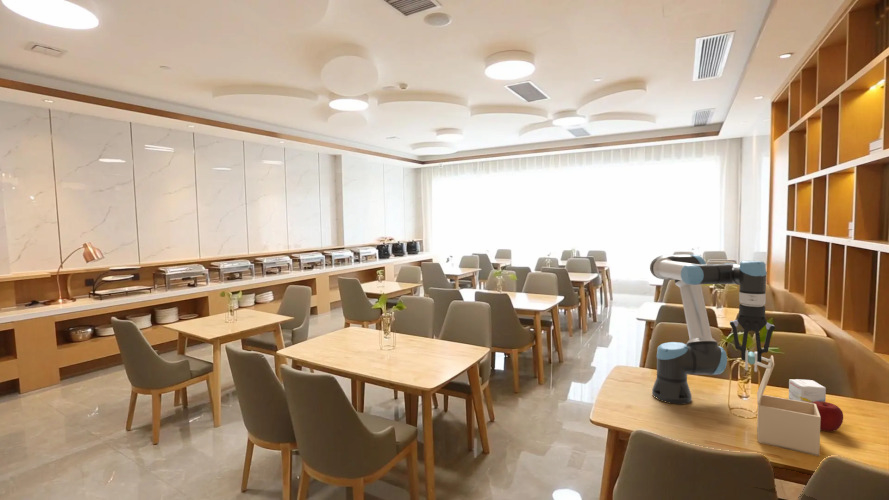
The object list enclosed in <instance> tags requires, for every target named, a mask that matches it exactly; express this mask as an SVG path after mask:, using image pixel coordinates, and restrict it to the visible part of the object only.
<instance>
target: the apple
mask: <svg viewBox="0 0 889 500" xmlns="http://www.w3.org/2000/svg"><path fill="white" fill-rule="evenodd" d="M812 403H814V404H816V406H817V408H818V411H819V414H820V417H821V420H820V431H823V432H835V431H837V430H838V429H840V427H841V425H843V422H844V413H843V410H842V409H841V408H840V407H839V406H837V404H834V403H830V402H827V401H825V402H823V401H815V402H812Z"/></svg>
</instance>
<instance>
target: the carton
mask: <svg viewBox="0 0 889 500" xmlns="http://www.w3.org/2000/svg"><path fill="white" fill-rule="evenodd" d="M820 420H821V417H820V414H819V411H818V408H817V406H816V404H814V403H808V402H802V401H796V400H791V399H789V398H783V397H778V396H771V395H767V394H763V396H762V398H761V401H760V403H759V405H758V404H757V420H756V421H757V423H756V424H757V426H756V427H757V428H756V429H757V443H758V444H759V443H760V444H763V445H768V446H772V447H776V448H781V449H786V450H790V451H794V452H798V451H799V452H798V453H802V452H803V453H802V454H807V455H811V456H812V455H813V456H816V457H820V447H821V444H820V443H821V442H820V441H821V430H820Z"/></svg>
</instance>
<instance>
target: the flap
mask: <svg viewBox="0 0 889 500" xmlns="http://www.w3.org/2000/svg"><path fill="white" fill-rule="evenodd" d="M761 361H764V362H767V363H768V364H765V363H762V362H757V361H755V352H753V351H748V364H749V365H754V364H756V365H757V366H759V367H762V368H765V371H764V374H763V376H762V379H761V381H760V385H759V387H758V389H757V392H756V399H757V406H758V405H759V403H760V401H761V398H762V396H763V395H764V393H765V390H766V388H767V385H768V383H769V379H770V377H771V375H772V372H773V370H774V367H775V361H774V355H770V357H769V358H766V357H763V356H761Z"/></svg>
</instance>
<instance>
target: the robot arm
mask: <svg viewBox="0 0 889 500" xmlns="http://www.w3.org/2000/svg"><path fill="white" fill-rule="evenodd" d="M766 265H767V264H766V262H764V261H762V260H742V261H741V262H740V263H735V262H733V263H730V262H728V263H727V262H726V263H721V264H720V263H718V264H717V263H716V264H715V263H714V264H707V263H706V261H705V259H704V257H702V256H700V255H699V254H698V255H697V254H689V253H687V254H663V255H659V256H657V257H655V258H654V259H653V260H651V262H650V264H649V270H650V273H651V274H652V276H653V277H655V278H656V279H659V280H668V281H669V280H671V281H674V285H675V286H677V287H678V288H679V290H680V296H681V300H682V306H683V307H682V308H683V312H684V317H685V323H686V328H687V332H688V336H689V340H688V341H687V342H686V343H684V342H679V341H678V342H676V341H670V342H669V341H668V342H664V343H663V342H662V343H661V344H660V345H658V346H657V349H656V351H657V352H656V379H655V382H654V384H653V386H652V388H651V391H652V393H651V395H652V394H653V395H654V396H655V397H657V398H658V399H660V400H663V401H666V402H665V403H667V402H670V403H669V404H672V403H675V404H674V405H686V404H690V403H691V402H692V401H693V400H692V393H691V389H690V387H689V384H688V375H708V376H712V375H721V374H722V373H723V372H725V370H726V368H727V364H728V355H727V352H726V350H725V349H724V348H723V347H722V346H719V345H718V340H715V338H713V336H712V332H711V331H712V330H711V327H710V322H709V318H708V312H707V307H706V303H705V297H704V294H703V293H704V292H703V289H702V285H736V286H737V285H738V286H739V292H738V294H739V295H738V297H739V298H738V299H739V300H738V301H739V302H738V303H740V304H739V306H738V316H737V319H735V320H730V321H729V325H730V327H731V329H732V334H733V341H734V348H735V349H736V350H739V351H741V355H740V356H741V358H740V359H741V361H744V370H745V371H747V372H748V371H749V370H748V368H749V365H748V364H749V363H748V353H749V350H747V342H748V338H749V337H748V336H749V335H748V334H749V331H752V332H754V334H755V335H754V336H755V344H756V351H754V354H755V361H757V362H760V363H762V360H761V357H762V354H764V353H768V352H769V349H770V343H771V339H772V338H771V337H772V333H773V332H774V330H775V329H776V326H775V325H774V324H773V323H772V324H771V323H769V322H768V321H767V319H766V306H765V305H766V302H767V301H766V297H767V295H766V291H767V290H766V289H767V288H766V287H767V272H768V271H767V266H766ZM739 325H740V326H741V327H742V328H743V336H742V343H741V345H740V340H739V334H738V326H739ZM764 327H766V335H765V338H764V339H765V341H764V343H763V344H764V345H763V347H762V345H761V334H760V331H761V330H762V329H763V328H764ZM753 365H754V367H753V368H754V369H753V371H754V372H755V373H758V365H756V364H753ZM653 395H652V396H653ZM655 397H654V398H655ZM658 399H657V400H658ZM660 400H659V401H660ZM663 401H662V402H663Z"/></svg>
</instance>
